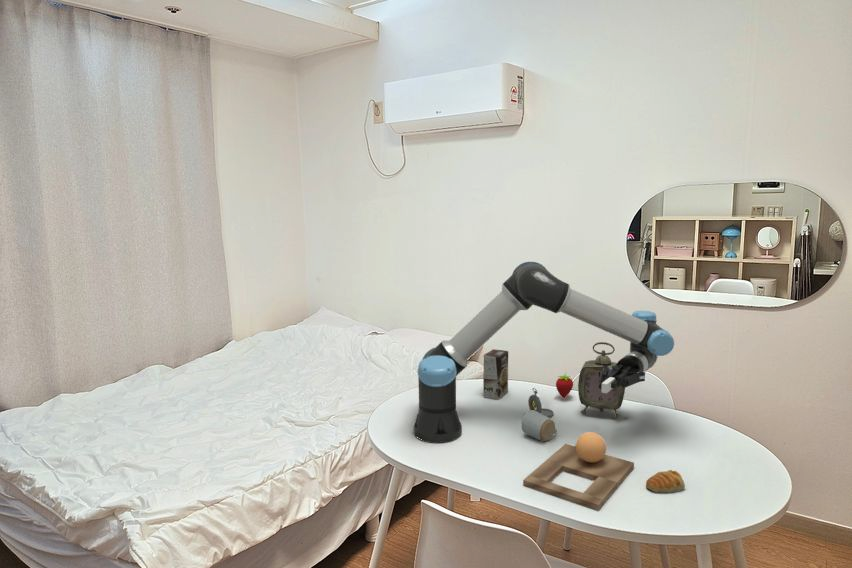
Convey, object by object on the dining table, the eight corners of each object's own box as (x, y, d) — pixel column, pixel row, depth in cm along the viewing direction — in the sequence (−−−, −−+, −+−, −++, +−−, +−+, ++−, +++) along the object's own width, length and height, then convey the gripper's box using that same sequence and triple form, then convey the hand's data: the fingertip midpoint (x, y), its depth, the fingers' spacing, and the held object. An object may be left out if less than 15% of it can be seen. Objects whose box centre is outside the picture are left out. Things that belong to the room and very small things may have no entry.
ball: (570, 462, 159) (571, 435, 158) (582, 451, 165) (583, 425, 164) (599, 470, 154) (600, 442, 153) (609, 459, 160) (611, 432, 159)
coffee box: (498, 400, 209) (499, 357, 206) (482, 397, 212) (482, 354, 209) (508, 392, 217) (509, 350, 214) (492, 389, 220) (493, 348, 217)
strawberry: (575, 396, 211) (576, 370, 209) (568, 403, 205) (569, 376, 203) (560, 393, 214) (560, 367, 213) (552, 400, 208) (553, 373, 207)
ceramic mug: (540, 445, 173) (541, 420, 172) (520, 436, 179) (521, 412, 178) (563, 436, 179) (564, 412, 178) (543, 427, 186) (544, 404, 184)
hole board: (523, 485, 150) (523, 480, 150) (565, 448, 171) (565, 443, 170) (598, 510, 138) (598, 504, 138) (633, 467, 159) (634, 462, 158)
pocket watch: (556, 413, 196) (557, 385, 194) (547, 422, 189) (548, 393, 187) (533, 408, 201) (534, 381, 199) (524, 417, 194) (524, 388, 192)
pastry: (657, 497, 144) (658, 483, 143) (638, 485, 150) (639, 471, 150) (687, 490, 147) (688, 476, 146) (667, 478, 153) (668, 464, 153)
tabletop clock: (577, 415, 194) (579, 343, 190) (581, 406, 202) (583, 336, 198) (622, 422, 189) (626, 347, 184) (624, 411, 197) (628, 340, 192)
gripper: (652, 382, 178) (626, 406, 160) (610, 374, 186) (581, 396, 168) (653, 358, 177) (627, 380, 158) (611, 351, 185) (582, 371, 166)
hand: (604, 388), depth 163 cm, fingers closed
